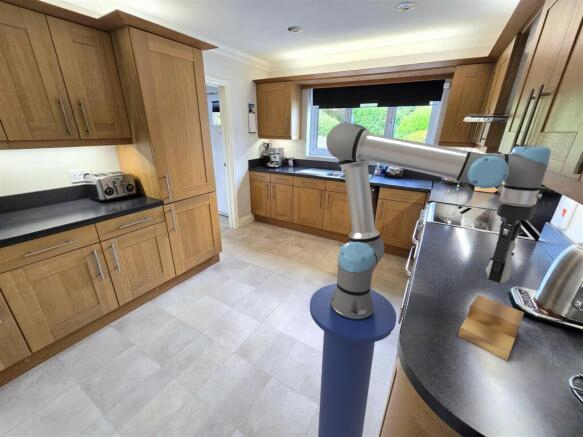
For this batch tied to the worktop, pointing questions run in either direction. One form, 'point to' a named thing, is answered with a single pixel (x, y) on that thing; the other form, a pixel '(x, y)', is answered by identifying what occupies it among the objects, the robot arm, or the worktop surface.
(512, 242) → the salt shaker
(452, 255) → the worktop surface
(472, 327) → the stepped wooden block
